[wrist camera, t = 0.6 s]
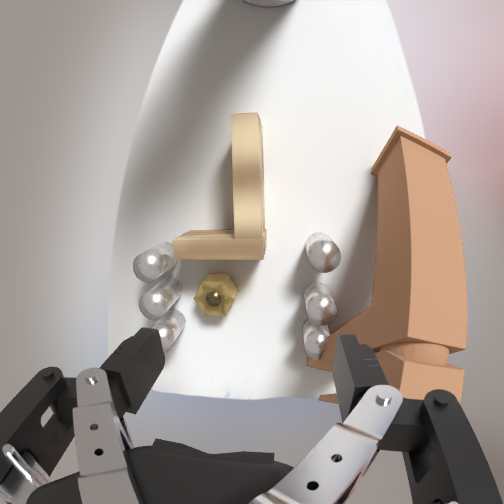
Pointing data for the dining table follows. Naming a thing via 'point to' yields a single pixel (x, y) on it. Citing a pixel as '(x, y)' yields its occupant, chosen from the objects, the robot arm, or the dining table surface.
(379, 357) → the tan tall stepped post
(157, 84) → the dining table surface
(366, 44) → the dining table surface
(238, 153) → the wooden l-bracket
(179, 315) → the spacers
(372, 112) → the dining table surface
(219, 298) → the nut
